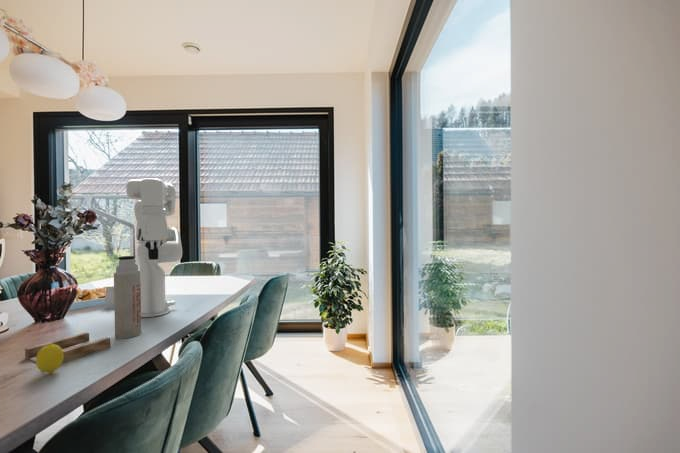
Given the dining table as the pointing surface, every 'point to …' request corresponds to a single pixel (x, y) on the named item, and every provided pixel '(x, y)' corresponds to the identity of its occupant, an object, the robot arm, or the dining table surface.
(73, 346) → the rail rest
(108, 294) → the grey rectangular block
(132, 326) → the thermos bottle
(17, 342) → the dining table surface
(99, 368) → the dining table surface
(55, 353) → the lemon
